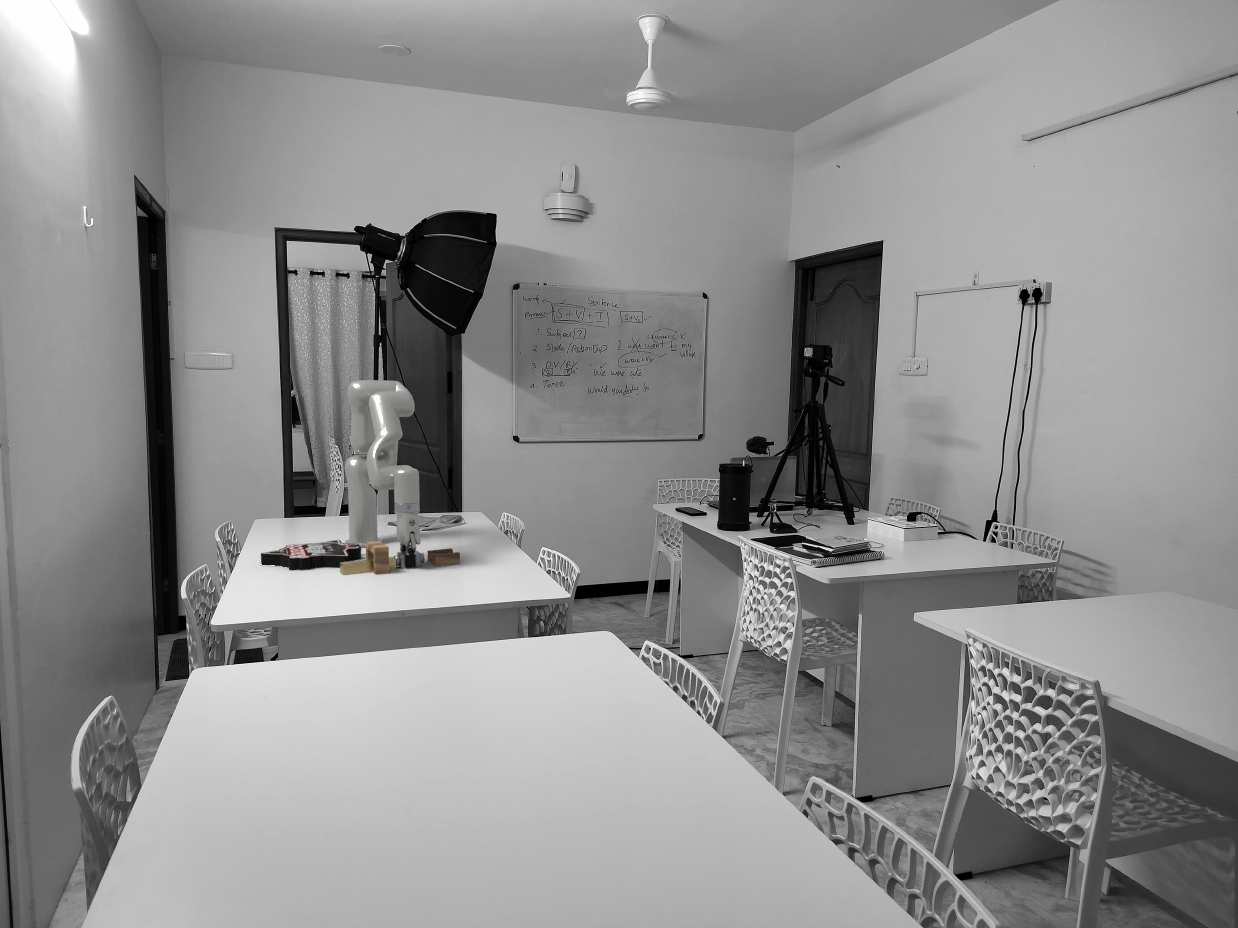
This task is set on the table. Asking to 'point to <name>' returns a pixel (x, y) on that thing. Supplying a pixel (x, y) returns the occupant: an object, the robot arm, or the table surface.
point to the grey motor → (401, 559)
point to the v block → (443, 557)
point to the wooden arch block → (378, 556)
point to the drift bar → (362, 566)
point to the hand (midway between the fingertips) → (408, 565)
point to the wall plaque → (312, 555)
